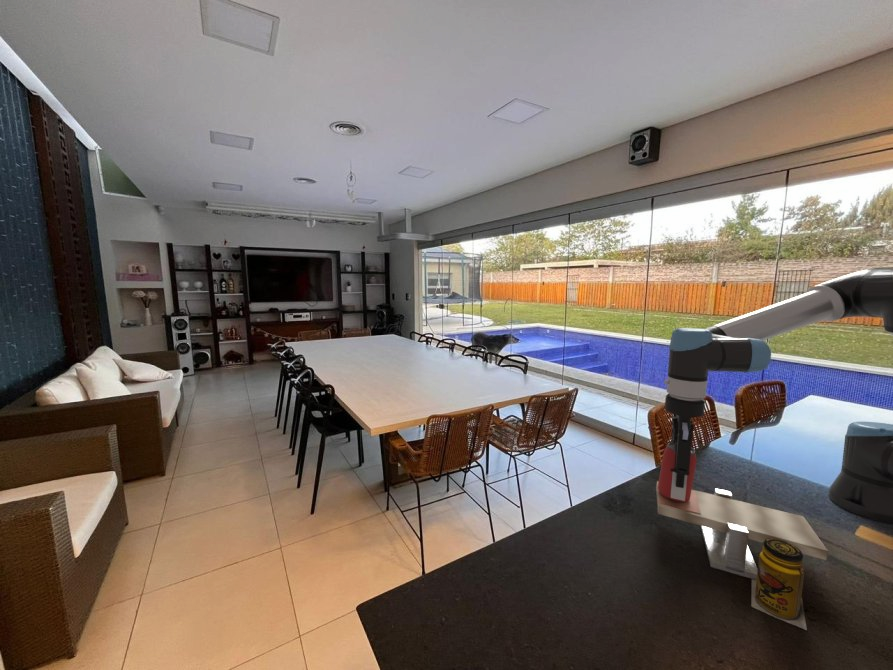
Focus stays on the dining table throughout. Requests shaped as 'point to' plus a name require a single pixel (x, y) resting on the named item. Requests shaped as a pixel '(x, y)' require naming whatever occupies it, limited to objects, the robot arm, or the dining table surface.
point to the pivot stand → (729, 547)
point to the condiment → (780, 582)
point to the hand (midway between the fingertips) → (676, 490)
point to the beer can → (666, 474)
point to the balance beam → (744, 520)
